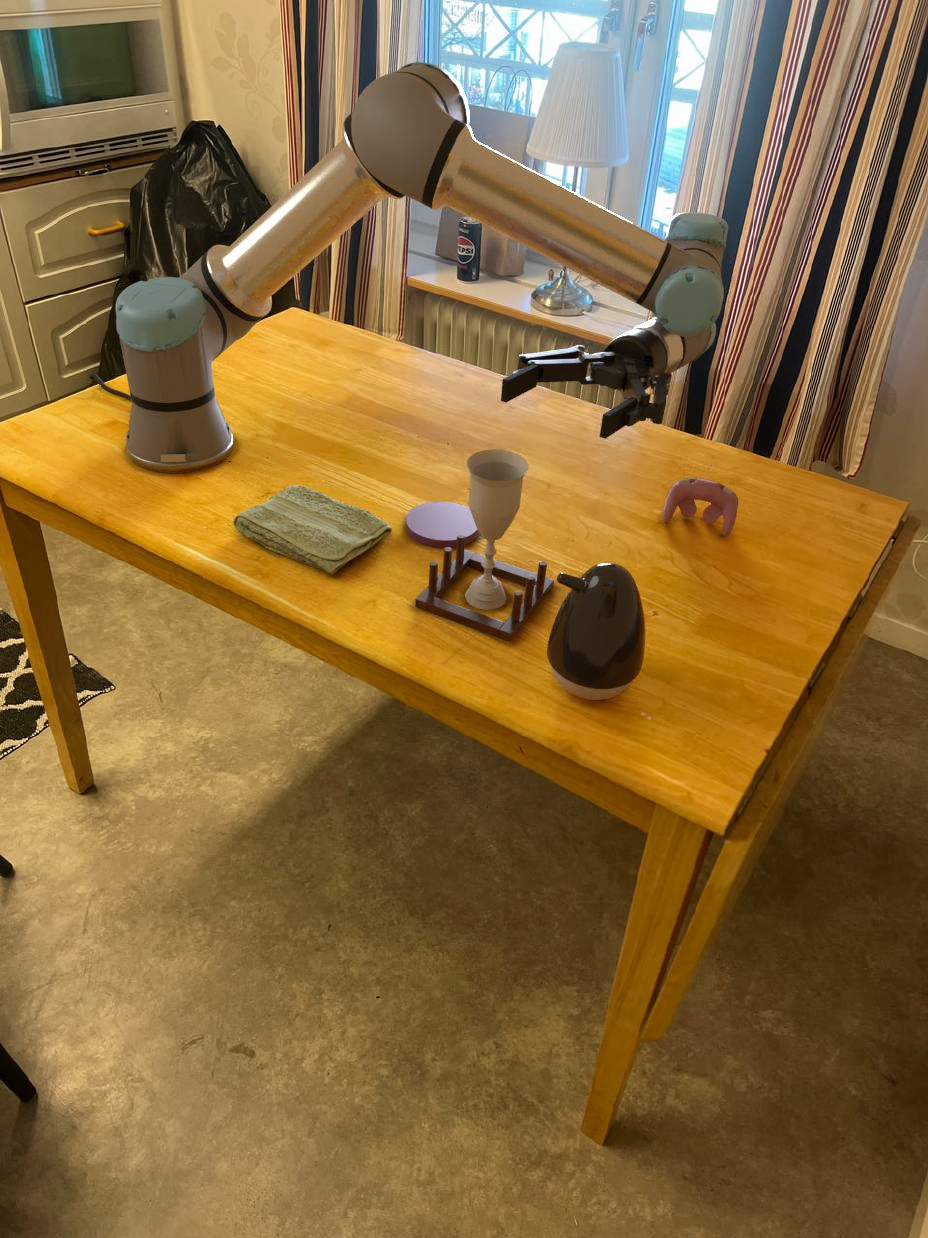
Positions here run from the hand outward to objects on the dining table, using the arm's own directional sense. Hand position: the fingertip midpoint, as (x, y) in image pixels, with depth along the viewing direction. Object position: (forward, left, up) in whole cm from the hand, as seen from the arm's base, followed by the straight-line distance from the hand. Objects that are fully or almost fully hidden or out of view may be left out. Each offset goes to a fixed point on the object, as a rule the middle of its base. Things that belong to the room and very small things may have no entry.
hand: (552, 408), depth 101 cm
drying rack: (-2, -10, -21) cm, 24 cm away
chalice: (-2, -10, -22) cm, 24 cm away
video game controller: (+16, +22, -22) cm, 35 cm away
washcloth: (-27, -10, -22) cm, 36 cm away
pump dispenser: (+15, -18, -22) cm, 32 cm away
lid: (-14, +1, -21) cm, 26 cm away
